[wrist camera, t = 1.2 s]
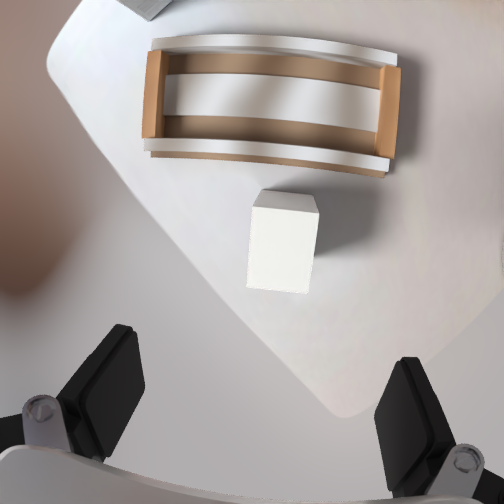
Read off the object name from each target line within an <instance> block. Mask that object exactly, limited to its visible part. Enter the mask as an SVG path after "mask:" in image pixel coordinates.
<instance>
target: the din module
mask: <svg viewBox="0 0 504 504" xmlns="http://www.w3.org/2000/svg"><path fill="white" fill-rule="evenodd" d="M318 221H319V211H318V208H317V205H316V203H315V200H314V197H313V195H307V194H298V193H288V192H279V191H269V190H261V191H260V193H259V195H258V197H257V199H256V201H255V203H254V204H253V206H252V218H251V232H250V246H249V259H248V273H247V287H249V288H258V289H267V290H276V291H285V292H295V293H304V294H308V289H309V283H310V277H311V270H312V264H313V257H314V250H315V243H316V236H317V228H318Z"/></svg>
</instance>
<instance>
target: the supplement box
mask: <svg viewBox="0 0 504 504" xmlns="http://www.w3.org/2000/svg"><path fill="white" fill-rule="evenodd" d="M117 1H118V2H120V3H121V4H123V5H124V6H126V7H127V8H129V9H130V10H132V11H133V12H135V13H136V14H138V15H139V16H141V17H142V18H143V19H145V20H146V21H147V22H149V21H150V20H151V19H152V18H153V17H154V16H156V15H157V14H158V13H159V12H160V11H161V10H162V9H163V8H164V7H166V6H167V5H168V4H169V3H170V2H171V1H173V0H117Z"/></svg>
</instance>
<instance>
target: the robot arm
mask: <svg viewBox="0 0 504 504" xmlns="http://www.w3.org/2000/svg"><path fill="white" fill-rule="evenodd" d="M502 264H503V271H504V244H503V251H502ZM144 390H145V382H144V376H143V370H142V364H141V358H140V352H139V344H138V337H137V333H136V332H135V331H133V329H132V327H130V326H125V325H121V324H116V325H115V326H114V327H113V328H112V329H111V331H110V332H109V333H108V334H107V336H106V337H105V338H104V339H103V340H102V342H101V343H100V344H99V345H98V346H97V348H96V349H95V350H94V351H93V353H92V354H90V355H89V356H88V357H87V359H86V360H85V361H84V362H83V364H82V365H81V366H80V367H79V369H78V370H77V371H76V372H75V374H74V375H73V376H72V377H71V379H70V380H69V381H68V383H67V384H66V385H65V386H64V388H63V389H62V390H61V391H60V393H59V394H58V396H57V397H56V398H54V397H52V396H50V395H37V396H34V397H32V398H30V399H29V400H28V401H27V402H26V403H25V404H24V406H23V408H22V414H17V415H13V416H8V417H3V418H0V504H504V479H503V478H502V477H500V476H498V475H496V474H494V473H492V472H490V471H488V470H486V469H485V468H484V463H485V461H484V457H483V455H482V453H481V452H480V451H479V450H478V448H476V447H475V446H473V445H469V444H459V445H456V442H455V439H454V437H453V434H452V432H451V429H450V427H449V424H448V422H447V419H446V417H445V415H444V412H443V410H442V407H441V405H440V403H439V400H438V398H437V396H436V394H435V393H434V391H433V389H432V386H431V384H430V382H429V380H428V378H427V375H426V373H425V371H424V369H423V367H422V365H421V362H420V360H419V359H418V358H417V357H402V358H401V360H400V361H397V362H396V364H395V366H394V369H393V371H392V374H391V376H390V378H389V381H388V383H387V386H386V388H385V390H384V393H383V395H382V397H381V399H380V402H379V404H378V406H377V408H376V410H375V415H374V420H375V425H376V429H377V434H378V439H379V444H380V449H381V454H382V460H383V465H384V470H385V476H386V481H387V488H388V490H389V491H392V494H393V499H381V500H366V501H343V502H308V501H305V502H304V501H284V500H272V499H260V498H251V497H243V496H235V495H228V494H222V493H216V492H210V491H205V490H199V489H194V488H189V487H185V486H180V485H176V484H171V483H167V482H163V481H159V480H155V479H152V478H148V477H144V476H141V475H138V474H134V473H131V472H128V471H125V470H121V469H118V468H115V467H112V466H109V465H106V464H103V462H104V460H105V458H106V457H110V456H111V455H112V453H113V451H114V449H115V447H116V445H117V443H118V441H119V439H120V437H121V435H122V433H123V431H124V430H125V427H126V426H127V424H128V422H129V420H130V418H131V416H132V414H133V412H134V410H135V408H136V407H137V405H138V403H139V401H140V399H141V397H142V395H143V393H144ZM94 460H95V461H94ZM97 461H98V462H97ZM401 497H402V498H401Z"/></svg>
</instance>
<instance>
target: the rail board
mask: <svg viewBox="0 0 504 504" xmlns="http://www.w3.org/2000/svg"><path fill="white" fill-rule="evenodd" d="M151 50H152V51H149V52H148V56H147V66H146V76H145V88H144V102H143V119H142V138H145V139H144V151H151V157H158V158H190V159H211V160H228V161H243V162H256V163H267V164H278V165H288V166H298V167H307V168H315V169H324V170H331V171H339V172H346V173H353V174H360V175H367V176H373V177H379V178H384V175H385V171H386V172H388V169H389V161H390V159H393V160H394V154H395V145H396V136H397V125H398V113H399V99H400V81H401V68H398V67H395V66H397V54H396V53H391V52H387V51H383V50H378V49H373V48H368V47H363V46H357V45H352V44H346V43H340V42H333V41H326V40H318V39H309V38H299V37H288V36H273V35H249V34H215V35H191V36H176V37H165V38H155V39H152V46H151Z"/></svg>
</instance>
